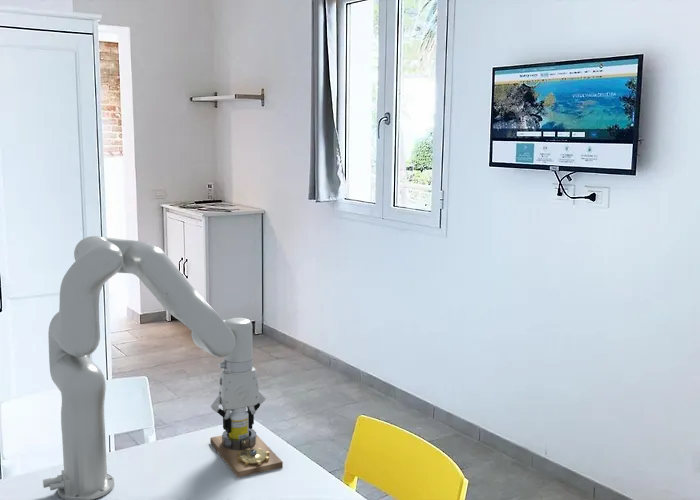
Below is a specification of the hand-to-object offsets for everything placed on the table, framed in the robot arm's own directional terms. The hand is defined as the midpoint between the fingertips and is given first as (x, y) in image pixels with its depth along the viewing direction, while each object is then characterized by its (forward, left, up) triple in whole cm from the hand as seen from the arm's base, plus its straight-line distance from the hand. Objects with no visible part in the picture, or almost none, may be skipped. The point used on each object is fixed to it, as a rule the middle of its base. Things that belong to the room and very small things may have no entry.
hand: (238, 428), depth 191 cm
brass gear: (0, -10, -4) cm, 11 cm away
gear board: (0, -4, -6) cm, 7 cm away
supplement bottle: (0, 0, -3) cm, 3 cm away
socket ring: (0, 0, -4) cm, 4 cm away
